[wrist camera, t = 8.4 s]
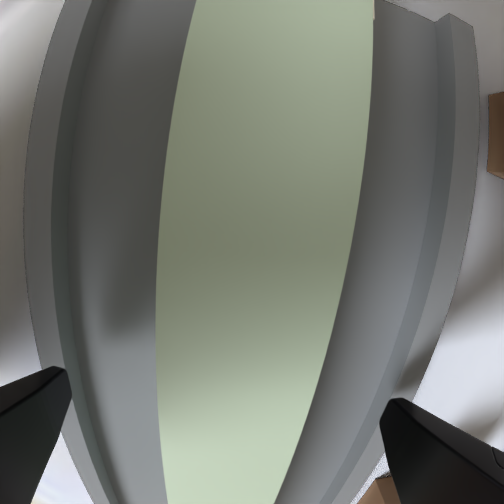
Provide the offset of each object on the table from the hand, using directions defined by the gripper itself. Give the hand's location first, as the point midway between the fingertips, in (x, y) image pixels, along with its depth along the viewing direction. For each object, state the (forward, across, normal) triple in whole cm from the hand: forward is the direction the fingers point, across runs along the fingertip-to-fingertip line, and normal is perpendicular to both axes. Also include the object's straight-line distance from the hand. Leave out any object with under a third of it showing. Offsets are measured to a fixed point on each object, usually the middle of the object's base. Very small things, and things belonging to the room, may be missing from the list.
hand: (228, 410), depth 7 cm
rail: (+2, 0, 0) cm, 2 cm away
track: (+2, 0, 0) cm, 2 cm away
